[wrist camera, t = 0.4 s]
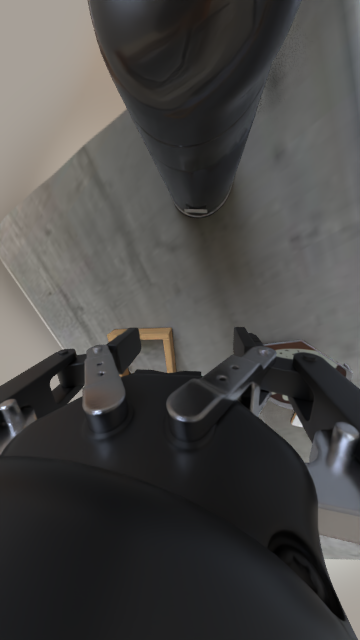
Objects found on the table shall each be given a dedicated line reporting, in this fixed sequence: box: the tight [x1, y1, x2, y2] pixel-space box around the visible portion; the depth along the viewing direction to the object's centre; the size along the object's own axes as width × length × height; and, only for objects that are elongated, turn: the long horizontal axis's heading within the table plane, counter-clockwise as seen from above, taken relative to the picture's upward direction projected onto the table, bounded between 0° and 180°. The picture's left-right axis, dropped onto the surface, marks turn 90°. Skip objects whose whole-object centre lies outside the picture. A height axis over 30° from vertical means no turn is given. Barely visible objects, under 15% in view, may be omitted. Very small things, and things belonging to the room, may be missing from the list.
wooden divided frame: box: [107, 328, 176, 377], centre depth 37 cm, size 24×12×3 cm, turn 5°
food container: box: [264, 340, 353, 409], centre depth 28 cm, size 12×6×10 cm, turn 103°
